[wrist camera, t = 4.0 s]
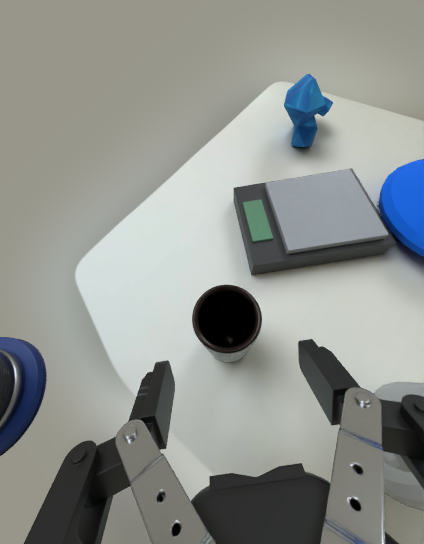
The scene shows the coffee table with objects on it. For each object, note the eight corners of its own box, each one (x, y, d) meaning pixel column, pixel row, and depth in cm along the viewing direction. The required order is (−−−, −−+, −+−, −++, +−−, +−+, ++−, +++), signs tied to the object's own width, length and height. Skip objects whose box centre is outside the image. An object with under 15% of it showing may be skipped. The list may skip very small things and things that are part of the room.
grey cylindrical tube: (258, 340, 23) (277, 318, 14) (227, 372, 22) (225, 370, 13) (228, 310, 25) (227, 271, 15) (198, 338, 24) (177, 315, 14)
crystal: (339, 64, 32) (356, 85, 25) (318, 130, 39) (327, 162, 32) (286, 64, 33) (289, 85, 26) (275, 129, 40) (275, 160, 33)
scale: (251, 275, 26) (253, 262, 24) (233, 200, 32) (233, 182, 29) (383, 254, 26) (402, 239, 23) (343, 182, 31) (355, 163, 28)
